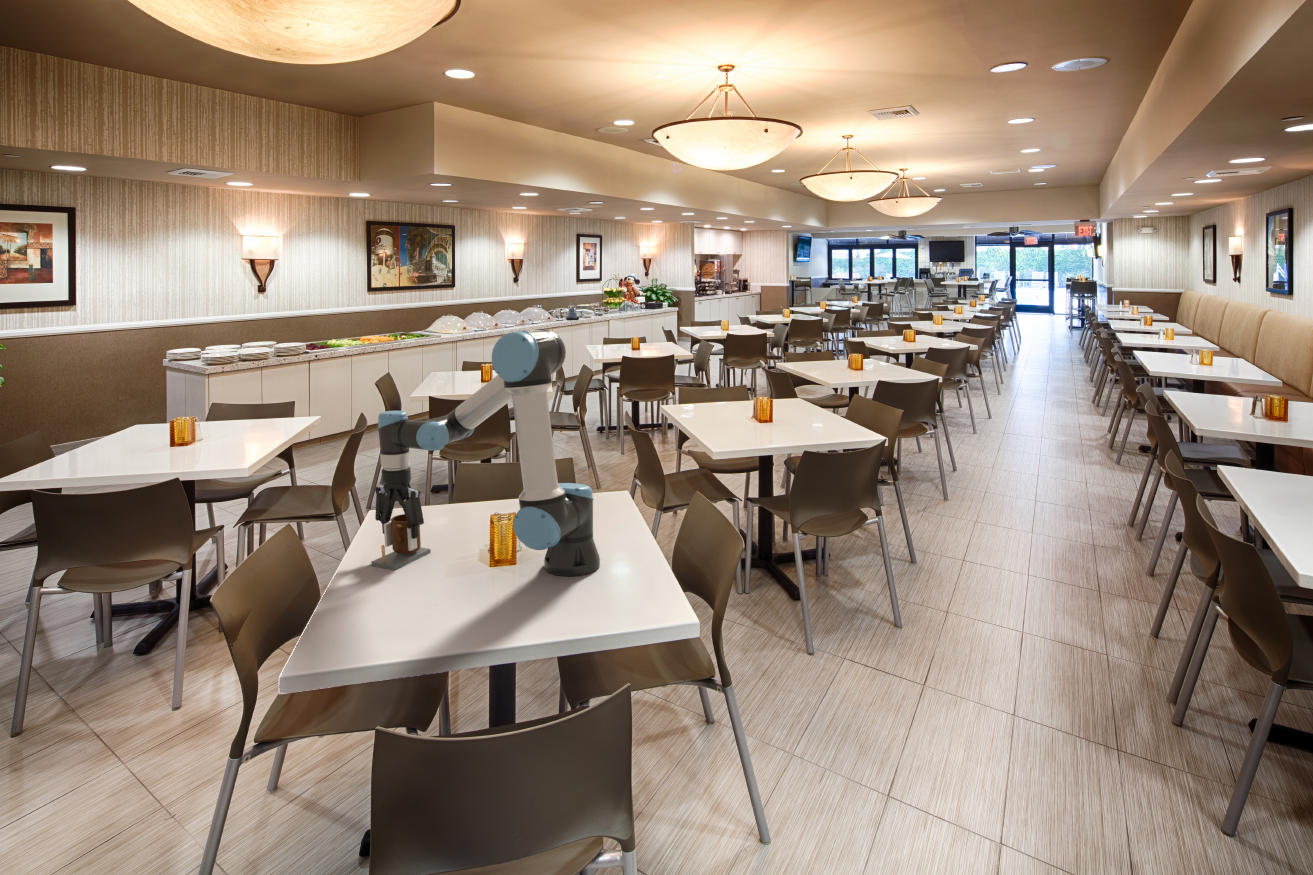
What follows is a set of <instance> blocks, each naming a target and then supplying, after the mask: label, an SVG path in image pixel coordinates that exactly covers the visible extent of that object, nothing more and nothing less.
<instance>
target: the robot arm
mask: <svg viewBox="0 0 1313 875" xmlns="http://www.w3.org/2000/svg"><path fill="white" fill-rule="evenodd" d="M566 354H567V351H566V346H565V343H564V341H563V340H562V338H561V337H560V335H558V334H557V333H555V331H552V330H549V329H545V328H540V329H528V330H527V329H526V330H523V329H522V330H520V329H519V330H515V331H512V332H507V333H505V334H504V335H501V336H500V338H498V340H497V341H496V342H495V344H494V346H493V348H492V351H491V364H492V365H491V366H492V368H493V370H494V372H495V374H496V375H495V376H494V377H493V378H492V379H491V380H490V381H488V382H487V383H485V384H484V385H483V386H482V387H480V389H478V390H476V391H475V392H474V393H473V394H472V395H470V396H469V397H468V398H466V399H465V400H464V401H463V402H461V403H460V404H459V405H457V406H456V408H454V409H453V410H451V412H449V413H448V414H446V415H442V416H438V417H433V418H430V419H426V420H411V419H409V417H408V414H407V411H403V410H387V411H382V412H380V413H379V414H378V417H377V420H378V421H377V431H378V438H379V440H378V441H379V449H380V450H379V452H380V453H379V454H380V467H381V469H382V470H381V481H382V483H383V484H381V485H379V486H375V487H374V491H375V496H376V497H375V514H374V516H375V521H379V522H380V523H381V527H382V528H381V529H382V534H383V535H384V546H385V548H388V547H390V546H392V533H391V519H392V515H393V511H394V507H395V505H396V504H395V503H396V502H398V503H399V505H400V507H402V508H401V509H402V510H403V514H405V516H406V518H407V521H408V524H409V526H410V527H408V528H407V534H408V549H409V551H411V550H414V549H416V548H417V537H418V526H419V525H420V526H421V525H424V524H425V521H424V520H425V519H424V514H423V510H422V504H421V499H420V498H421V490H420V489H414V488H412V486H411V480H412V472H411V467H410V465H411V460H410V459H411V458H410V449H414V450H424V451H428V452H429V451H430V452H431V451H440V450H443V449H444V447H445V446H447V444H450V443H452V442H456V441H462V440H465V439H466V438H468V437H470V436H471V435H472V434H474V432H475V429H476V427H478V426H479V425H480V424H481V423H483V422H484V421H486V419H488V418H489V417H491V416H492V415H494V414H495V413H496V412H498V411H499V410H500V409H501V408H503V407H504V406H505V405H507V404H508V403H509V402H511V401H512V406H513V407H512V408H513V414H514V423H515V424H514V425H515V430H516V431H515V432H516V439H517V446H518V454H519V462H520V463H519V464H520V469H521V471H520V472H521V478H522V484H523V489H522V491H521V493H519V496H518V504H519V510H518V511H517V512H516V514H515V515H514V518H513V523H512V526H513V532H514V533H515V536H516V537H517V539H518V540H519V541H520V542H521V543H522V544H523V545H524V546H525V547H526V548H529V549H531V550H535V551H544V550H546V553H545V555H544V559H543V562H544V563H543V566H544V570H545V571H546V572H548V573H549V574H552V575H556V576H560V577H561V576H562V577H575V576H577V577H578V576H583V575H587V574H591V573H593V571H594V570H595V571H597V570H598V569H599V568H600V567H599V566H601V564H600V562H601V557H600V553H599V552H598V548H597V546H596V542H595V540H594V497H593V490H592V487H590V486H589V485H587V484H584V483H583V484H581V483H574V482H573V483H572V482H558V481H559V480H558V474H557V466H556V465H557V464H556V459H555V458H556V457H555V448H554V447H555V446H554V439H553V433H552V432H553V431H552V425H551V416H550V408H549V399H548V390H549V388H551V386H552V384H553V380H552V379H553V378H552V375H553V374H555V373H556V372H558V371H559V370H560V369H561V368H562V366H563V364H564V363H565V359H566ZM413 522H414V523H413ZM597 568H598V569H597ZM596 569H597V570H596ZM595 571H594V572H595Z"/></svg>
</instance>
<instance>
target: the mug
mask: <svg viewBox="0 0 1313 875" xmlns="http://www.w3.org/2000/svg"><path fill="white" fill-rule="evenodd" d="M390 519H391V521H390V522H391V533H392V545H391V546H392V552H396V553H401V554H406V553H412V552H416V551H418V550H419V549H420V547H422V546H421V545H422V542H421V528H420V527H421V525H419V526H418V537H417V548H416V549H414V550H411V551H409V549H408V534H407V528H408V527H410V526H409V524H408V521H407V518H406V516H405V513H402V514H397V515H395V516H391V518H390ZM413 523H414V522H413Z"/></svg>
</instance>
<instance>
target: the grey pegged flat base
mask: <svg viewBox="0 0 1313 875" xmlns="http://www.w3.org/2000/svg"><path fill="white" fill-rule="evenodd" d="M380 547H381V557H379V558H376V559H374V560H372V561H371V567H377V568H380V569H387V570H392V571H396V570H398V569H400V568H403V567H405V566H406V565H408V564H411V563H412V562H415V561H417V560H419V559H422V558H423V557H425V556H428V555H429V554H431V553H432V552H431V548H428V547H427V548H426V547H422V546H420V549H419V550H418V551H416V552H412V553H406V554H401V553H396V552H394V551H392V552H390V553H388V554H386V550H385V548H386V547H385V544H382V545H381V546H380Z"/></svg>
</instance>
